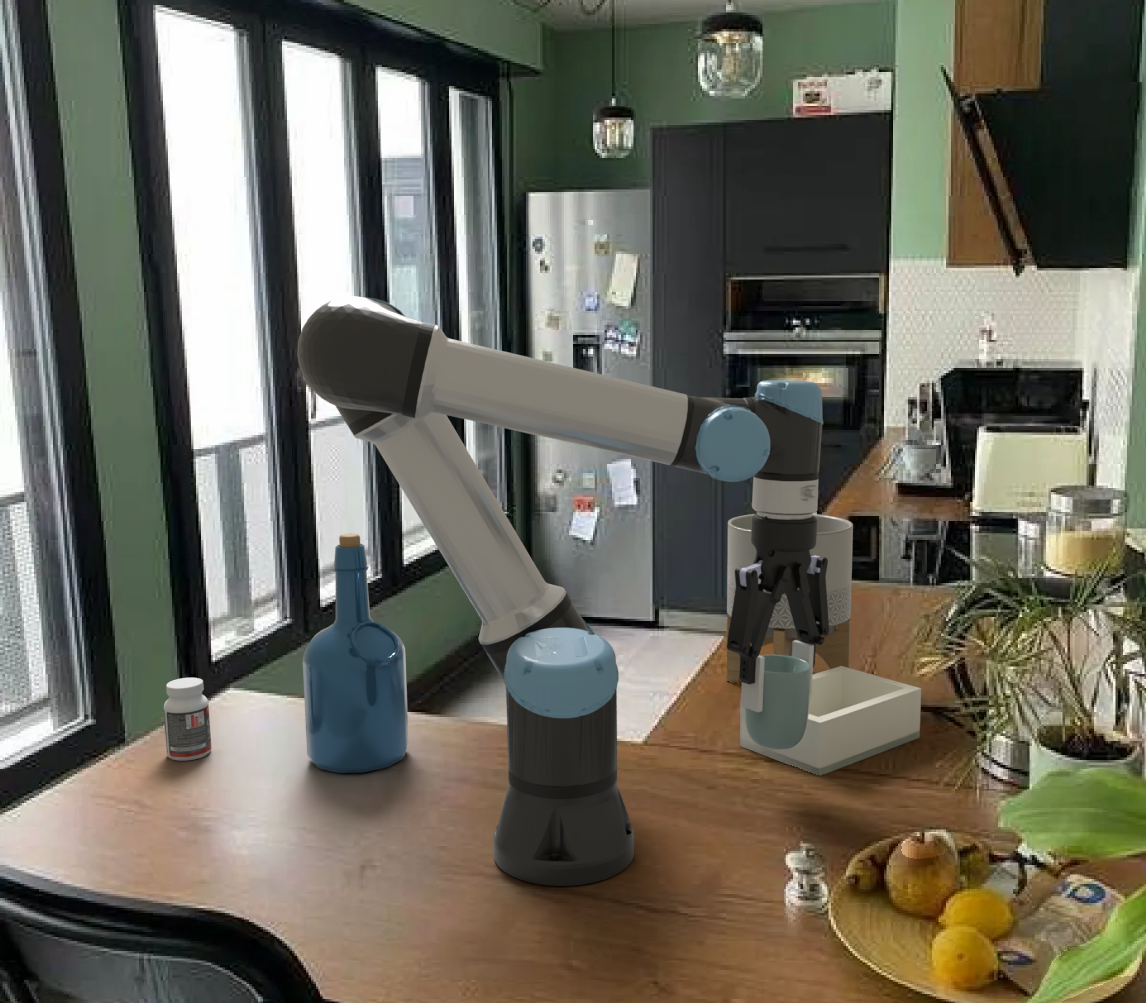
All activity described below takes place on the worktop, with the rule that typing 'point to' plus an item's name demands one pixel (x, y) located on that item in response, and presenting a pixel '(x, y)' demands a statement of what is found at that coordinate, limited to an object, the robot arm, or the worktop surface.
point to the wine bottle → (355, 678)
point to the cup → (781, 703)
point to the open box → (848, 721)
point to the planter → (781, 630)
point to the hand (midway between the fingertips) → (776, 701)
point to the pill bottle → (187, 720)
